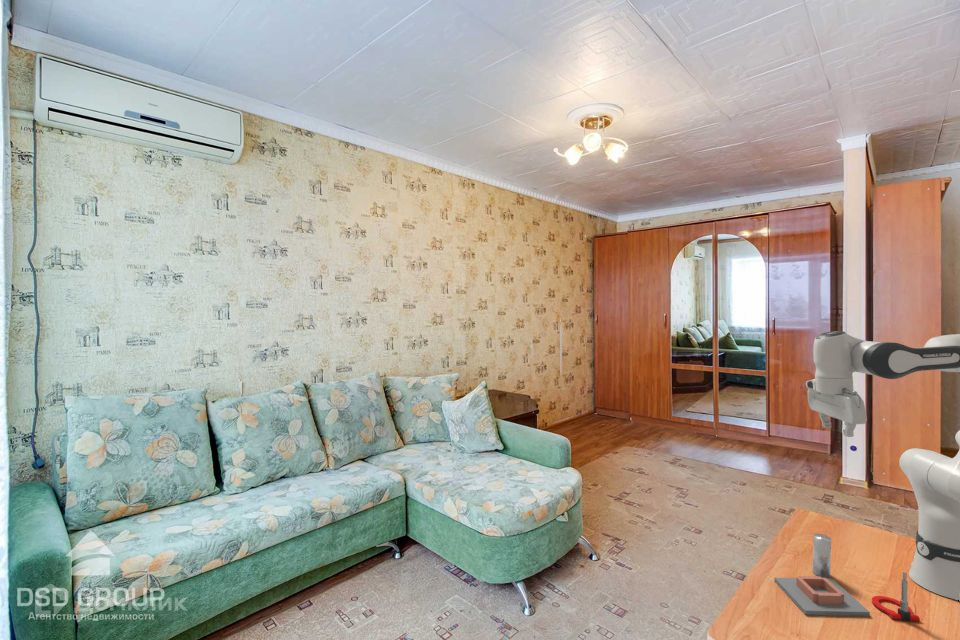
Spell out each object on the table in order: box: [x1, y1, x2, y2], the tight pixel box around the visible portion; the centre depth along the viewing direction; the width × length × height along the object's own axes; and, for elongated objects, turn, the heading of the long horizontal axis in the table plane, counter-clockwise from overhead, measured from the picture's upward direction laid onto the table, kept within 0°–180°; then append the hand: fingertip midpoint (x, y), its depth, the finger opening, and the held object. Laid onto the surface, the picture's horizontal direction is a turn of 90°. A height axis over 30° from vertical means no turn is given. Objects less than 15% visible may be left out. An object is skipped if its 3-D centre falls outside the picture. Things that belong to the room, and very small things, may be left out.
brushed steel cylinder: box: [812, 533, 832, 579], centre depth 138 cm, size 4×4×12 cm
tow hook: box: [871, 572, 921, 622], centre depth 123 cm, size 8×13×9 cm
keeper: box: [773, 575, 871, 617], centre depth 128 cm, size 17×14×4 cm
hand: (837, 431), depth 132 cm, fingers open, 8 cm apart
